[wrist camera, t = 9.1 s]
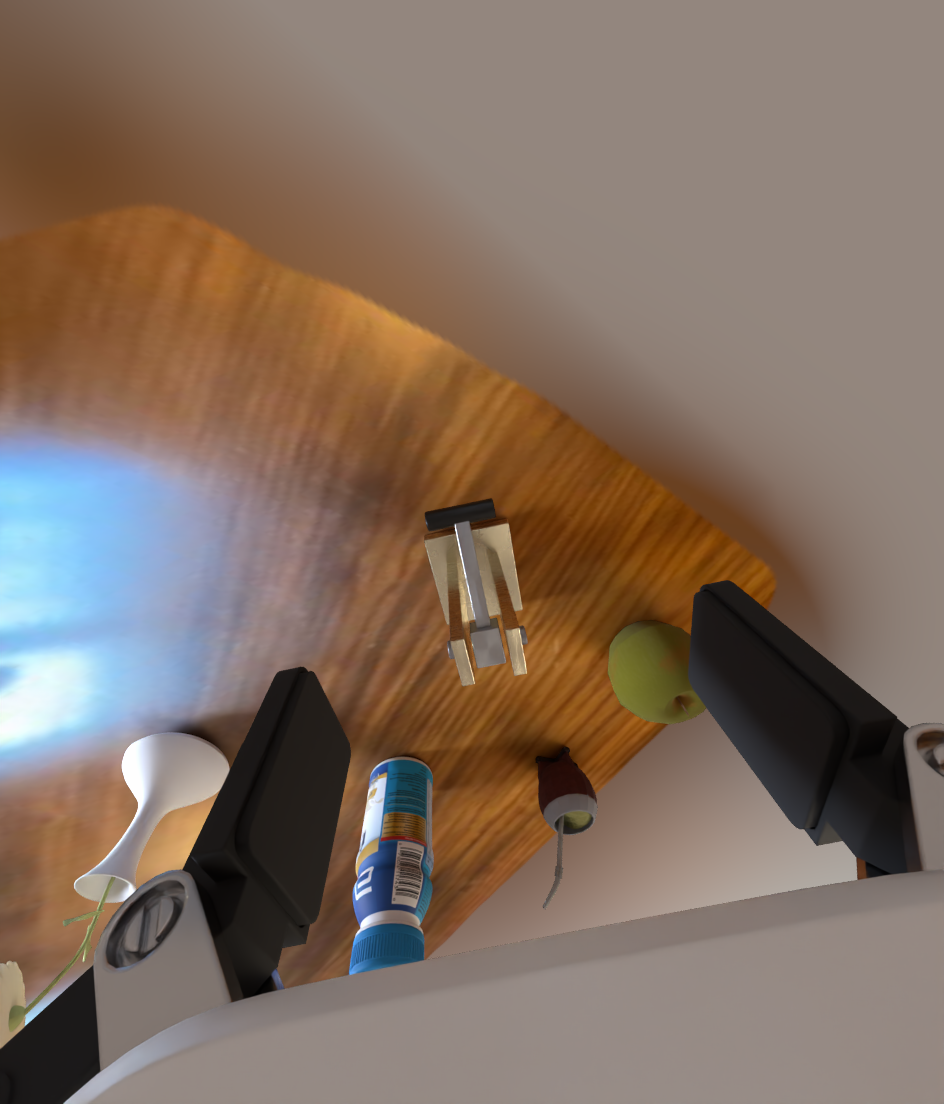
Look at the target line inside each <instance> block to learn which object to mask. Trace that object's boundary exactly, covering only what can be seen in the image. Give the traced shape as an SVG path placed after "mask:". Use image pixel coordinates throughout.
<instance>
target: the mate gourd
mask: <svg viewBox="0 0 944 1104" xmlns="http://www.w3.org/2000/svg"><path fill="white" fill-rule="evenodd" d="M569 752H570V750H569V748H568V747H564V748H563V749H562V750H561V752H560V753H559V755H558V756H557V757H556V759H549V758H544V757H537V758H536V763H538V779H539V793H538V798H539V805H540V809H541V812H542V814H543V816H544V819H545V820H546V822H547V823H548V825H549V826H550V827H551V828H552V829H553V830H554V831H556V832H558V851H557V852H558V853H557V866H556V869H555V876H556V877H555V881H554V884H553V887H552V889H551V891H550V893H549V895H548V897H547V899H546V901H545V903H544V905H543V908H544V909H546V908H547V906H548V905H549V903H550V901H551V899H552V898H553V896H554V895H555V893H556V891H557V889H558V886H559V883H560V879H561V878H562V870H563V868H562V841H563V834H564V835H574V834H578V833H581V832H584V831H586V830H587V829H589V828H590V827H591V826H592V825H593V823H594V822H595V818H596V814H597V808H598V807H597V800H596V795H595V792H594V790H593V787H592V785H591V783H590V781H589V780H588V778H587V777H586V775H585V774H584V773H583V772H582V771H581V770H580V769H579V768H578V766H577V764H575V763H573V761H572V759H571V758H570V756H569V754H568V753H569Z"/></svg>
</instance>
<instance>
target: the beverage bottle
mask: <svg viewBox="0 0 944 1104" xmlns="http://www.w3.org/2000/svg"><path fill="white" fill-rule="evenodd" d="M432 786H433V776H432V772H431V770H430V768H429V767H428V766H427V765H426V764H425V763H424V762H422V761H420V760H418V759H415V758H411V757H394V758H390V759H387V760H385V761H383V762H381V763H380V764H378V765H377V766H376V767H375V768H374V770H373V771H372V773H371V776H370V782H369V791H368V798H367V805H366V811H365V817H364V824H363V830H362V837H361V843H360V849H359V853H358V856H357V860H356V874H357V877H358V881H357V882H356V884H355V886H354V889H353V904H354V910H355V914H356V917H357V920H358V923H359V925H360V927H361V929H360V930H359V931H358V932H357V934H356V936H355V939H354V943H353V950H352V956H351V963H350V970H349V975H351V974H356V973H361V972H366V971H372V970H377V969H382V968H387V967H392V966H397V965H402V964H407V963H413V962H418V961H423V960H424V936H423V931H422V929H421V928H420V927H419V925H420V924H421V922H422V920H423V918H424V916H425V914H426V912H427V909H428V906H429V903H430V900H431V895H432V883H431V881H430V879H429V877H430V875H431V872H432V869H433V861H434V856H433V850H432Z"/></svg>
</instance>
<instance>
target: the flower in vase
mask: <svg viewBox="0 0 944 1104" xmlns="http://www.w3.org/2000/svg"><path fill="white" fill-rule="evenodd" d="M122 771H123V774H124V778H125V780H126V783H127V784H128V786H129V788H130V789H131V791H132V792H133V794H134V795H135V797H136V799H137V800H138V804H139V806H138V811H137V813H136V816H135V818H134V820H133V821H132V823H131V825H130V827H129V828H128V829H127V831H126V832H125V834H124V835H123V837H122V838H121V840H120V841H119V842H118V844H117V845H116V846H115V847H114V849H113V850H112V851H111V852H110V853H109V854H108V856H107V857H106V858H105V859H104V860H103V861H102V862H101V863H100V864H98V865H97V866H96V867H95V868H94V869H92V870H91V871H89V872H88V873H86V874H85V875H83V876H81V877H80V878H78V879H77V880H76V881H75V883H74V888H75V890H76V891H77V892H78V893H79V894H80V895H81V896H83V897H85V898H87V899H90V900H93V901H98V902H100V904H99V906H98V909H97V911H94V912H90V913H87V914H84V915H82V916H79V917H76V918H72V919H67V920H64V921H63V924H64V926H67V925H68V924H70V923H71V922H73V921H79V920H84V919H87V918H90V917H93V916H94V919H93V921H92V924H91V926H90V925H89V927H88V930H87V934H86V938H85V940H84V942H83V944H82V946H81V947H80V949H79V951H78V952H77V954H76V955H75V957H74V958H73V959H72V960H71V962H70V963H69V964H68V965H67V966H66V967H65V969H64V970H63V971H62V972H61V973H60V974H59V975H58V976H57V977H56V978H55V980H54V981H53V982H52V983H51V984H50V985H49V986H48V987H47V988H46V989H45V990H44V991H43V992H42V993H41V994H40V995H39V996H38V997H37V998H36V999H35V1000H34V1001H33V1002H32V1003H31V1004H30V1005H29V1006H28V1007H27V1008H26V998H25V997H24V996H25V986H24V983H23V979H22V973H21V971H20V969H19V968H18V965H17V963H16V962H13V963H12V962H11V961H8V962H7V964H6V965H5V964H4V963H1V964H0V1049H1V1048H2V1047H3V1046H4V1045H5V1044H6V1043H7V1042H8V1041H9V1040H11V1039H12V1038H13V1037H14V1036H15V1035H16V1034H17V1033H18V1032H19V1031H21V1030H22V1029H23V1028H24V1026H25V1015H26V1014H27V1013H28V1012H29V1011H30V1010H31V1009H32V1008H33V1007H34V1006H35V1005H36V1004H37V1003H38V1002H39V1001H40V1000H41V999H42V998H43V997H44V996H45V995H46V994H47V993H48V992H49V991H50V990H51V989H52V988H53V987H54V986H55V985H56V984H57V982H58V981H59V980H60V979H61V978H62V977H63V976H64V975H65V974H66V973H67V971H68V970H69V969H70V968H71V967H72V966H73V964H74V963H75V962H76V960H77V959H78V958H79V956H80V955H81V953H82V952H83V950H84V948H85V953H84V957H83V962H85V960H86V957H87V953H88V952H89V951H90V949H91V948H92V947H91V945H90V938H91V934H92V932H93V930H94V927H95V925H96V922H97V920H98V918H99V915H100V913H102V912H103V911H104V910H102V907H103V905H104V903H116V902H122V901H125V900H126V899H127V898H128V897H129V896H131V895H132V894H133V893H134V892H135V891H136V882H135V876H136V870H137V866H138V863H139V860H140V857H141V854H142V852H143V850H144V848H145V845H146V843H147V841H148V839H149V838H150V836H151V834H152V832H153V830H154V829H155V827H156V826H157V824H158V822H159V821H160V820H161V819H162V817H163V816H164V815H166V814H167V813H168V812H170V811H172V810H175V809H178V808H181V807H185V806H189V805H192V804H195V803H198V802H201V801H203V800H205V799H207V798H209V797H211V796H213V795H214V794H216V793H217V792H218V791H219V790H220V789H221V788H222V786H223V783H224V781H225V779H226V777H227V775H228V773H229V771H230V769H229V765H228V761H227V759H226V757H225V755H224V754H223V753H222V752H221V750H220V749H218V748H217V747H216V746H215V745H213V744H212V743H210V742H208V741H206V740H204V739H202V738H199V737H196V736H193V735H189V734H184V733H176V732H165V733H157V734H153V735H149V736H147V737H144V738H142V739H140V740H138V741H136V742H134V743H133V744H132V745H131V746H129V748H128V749H127V750H126V752H125V755H124V758H123V762H122Z"/></svg>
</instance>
